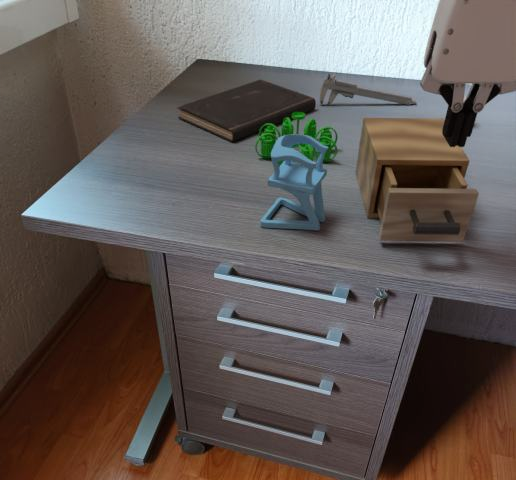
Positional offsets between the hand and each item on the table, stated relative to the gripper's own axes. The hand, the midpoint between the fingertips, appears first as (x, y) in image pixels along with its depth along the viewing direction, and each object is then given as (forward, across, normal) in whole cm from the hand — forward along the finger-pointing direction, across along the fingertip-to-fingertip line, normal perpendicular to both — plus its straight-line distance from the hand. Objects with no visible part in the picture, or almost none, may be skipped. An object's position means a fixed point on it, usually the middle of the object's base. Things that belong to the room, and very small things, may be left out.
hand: (453, 141), depth 63 cm
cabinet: (+14, +1, -14) cm, 20 cm away
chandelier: (+15, +17, -28) cm, 36 cm away
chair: (+15, +18, -6) cm, 24 cm away
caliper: (+15, +1, -52) cm, 54 cm away
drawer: (+14, +1, -4) cm, 14 cm away
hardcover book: (+15, +26, -46) cm, 55 cm away
